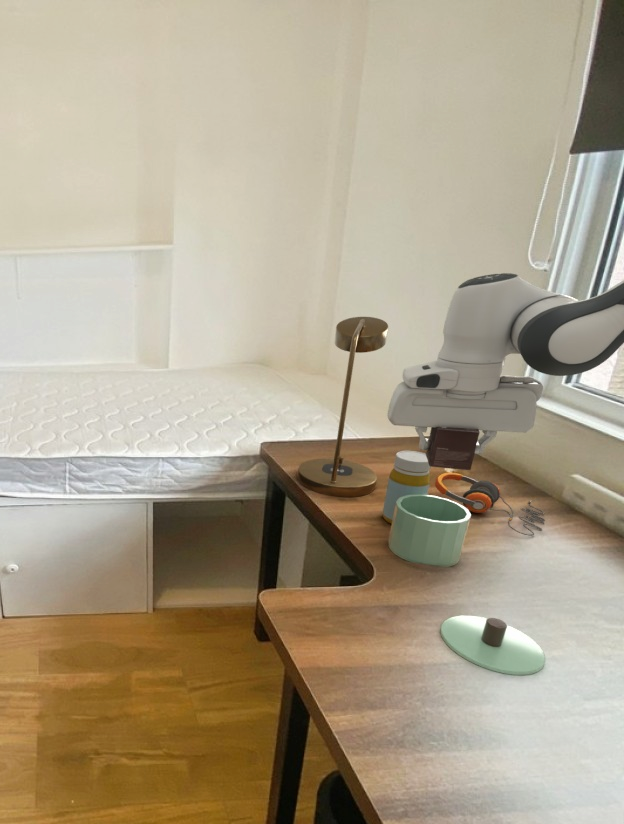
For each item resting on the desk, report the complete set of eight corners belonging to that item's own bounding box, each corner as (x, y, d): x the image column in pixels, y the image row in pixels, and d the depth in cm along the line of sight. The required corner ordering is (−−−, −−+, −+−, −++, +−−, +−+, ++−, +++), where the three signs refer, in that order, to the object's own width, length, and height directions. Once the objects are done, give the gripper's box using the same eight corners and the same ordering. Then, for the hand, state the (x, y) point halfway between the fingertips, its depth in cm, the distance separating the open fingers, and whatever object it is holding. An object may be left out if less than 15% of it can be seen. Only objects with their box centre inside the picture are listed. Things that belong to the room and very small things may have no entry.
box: (470, 471, 95) (480, 432, 92) (428, 467, 98) (436, 428, 95) (465, 458, 100) (474, 420, 97) (425, 454, 103) (432, 417, 100)
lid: (526, 631, 86) (534, 606, 84) (557, 687, 76) (567, 661, 74) (432, 614, 91) (438, 591, 89) (449, 665, 81) (456, 640, 79)
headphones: (543, 529, 107) (430, 480, 119) (528, 550, 109) (418, 499, 122) (561, 500, 116) (454, 457, 129) (547, 520, 119) (443, 476, 132)
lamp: (380, 460, 147) (406, 315, 133) (372, 502, 126) (402, 337, 112) (309, 450, 156) (326, 314, 142) (291, 488, 135) (309, 334, 121)
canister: (451, 540, 110) (462, 498, 107) (466, 572, 101) (478, 527, 97) (384, 532, 115) (392, 491, 111) (392, 561, 105) (401, 517, 102)
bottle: (413, 532, 114) (428, 466, 108) (376, 520, 119) (388, 457, 113) (425, 520, 118) (440, 455, 112) (388, 509, 123) (401, 447, 117)
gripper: (539, 372, 91) (517, 449, 96) (393, 368, 100) (380, 440, 105) (554, 382, 86) (530, 463, 91) (398, 377, 94) (385, 452, 99)
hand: (449, 450), depth 98 cm, fingers closed on box, 6 cm apart
